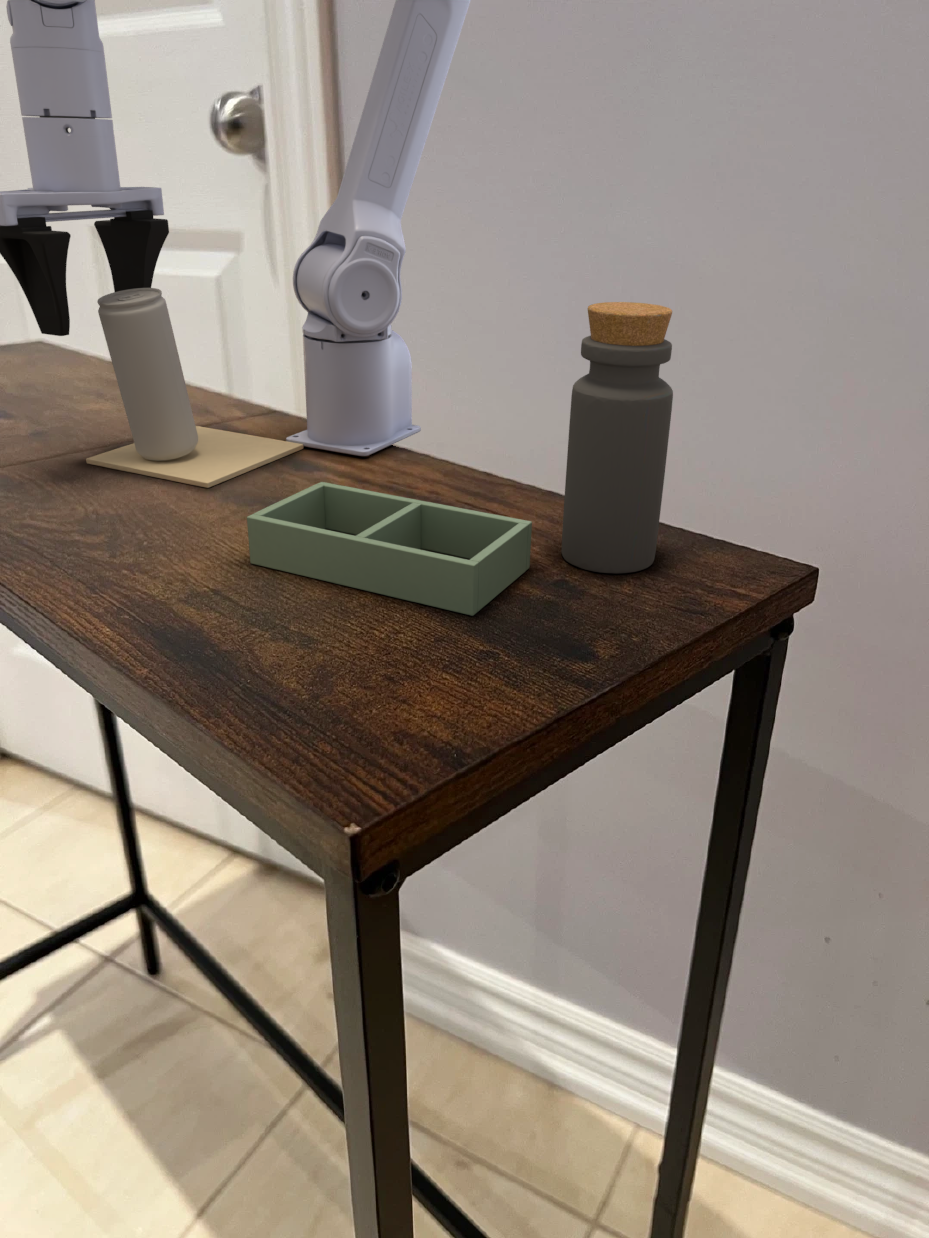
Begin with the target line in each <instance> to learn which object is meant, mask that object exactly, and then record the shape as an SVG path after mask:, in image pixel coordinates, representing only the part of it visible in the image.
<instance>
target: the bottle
mask: <svg viewBox="0 0 929 1238" xmlns="http://www.w3.org/2000/svg"><path fill="white" fill-rule="evenodd" d="M587 315H588V316H587V317H588V324H589V332H590V335H588V336H585V337H584V338H582V340H581V344H580V356H581V357H582V358H583V359H585V360H587V361H589V370H588V373H587V374H585V375H583V376H582V377H580V378H578V379H577V380H576V381H575V382H574V384H573V385H572V390H571V398H570V399H571V400H570V410H569V411H570V412H569V426H568V439H567V456H566V470H565V482H564V483H565V485H564V499H563V512H562V513H563V515H562V529H561V556H562V557H563V559H564V560H565V561H566V562H567V563H569V564H571V565H572V566H574V567H578V568H580V569H582V570H586V571H589V572H596V573H601V574H616V575H617V574H628V573H629V574H630V573H635V572H639V571H643V570H646V569H648V568H649V567H651V565H653V564H654V561H655V557H656V551H657V543H658V535H659V527H660V518H661V509H662V502H663V501H662V500H663V493H664V484H665V475H666V466H667V456H668V447H669V438H670V430H671V429H670V428H671V421H672V412H673V401H674V390H673V388H672V386H670V384H669V383H668V382H666V380H664V379H663V378H661V377H660V367H661V365H664V364H667V363H668V362H670V361H671V358H672V352H673V351H672V350H673V344H672V342H671V341H669V340H668V339H665V338H666V335H667V331H668V327H669V325H670V322H671V318H672V315H673V310H672V309H671V308H670V307H668V306H664V305H660V304H653V303H648V302H647V303H646V302H632V301H631V302H630V301H606V302H597V303H593V304H590V305H588V306H587Z"/></svg>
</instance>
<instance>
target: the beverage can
mask: <svg viewBox="0 0 929 1238" xmlns="http://www.w3.org/2000/svg"><path fill="white" fill-rule="evenodd" d="M162 294H163V292H162V290H161V289H159V288H155V287H151V288H136V289H128V290H123V291H118V292H110V293H108V294H105V295H103V296H100V297H99V298H98V299H97V305H98V306H99V307H98V309H97V313H98V317H99V320H100V324H101V327H102V331H103V334H104V338H105V342H106V345H107V349H108V354H109V356H110V360H111V364H112V367H113V371H114V374H115V378H116V381H117V386H118V389H119V393H120V397H121V400H122V405H123V407H124V411H125V415H126V418H127V421H128V426H129V428H130V432H131V436H132V439H133V443H134V444H135V447H136V451H137V452H138V453H139V454H140V455H141V456H142V457H144V458H146V459H148V460H152V461H166V460H172V459H176V458H179V457H182V456H185V455H187V454H189V453H190V452H192V451H193V450H194V449H195V447H196V445H197V443H198V434H197V430H196V426H197V425H196V422H195V418H194V414H193V409H192V405H191V400H190V396H189V393H188V388H187V385H186V380H185V376H184V371H183V367H182V363H181V358H180V354H179V350H178V347H177V342H176V338H175V334H174V330H173V326H172V322H171V317H170V312H169V309H168V304H167V301H166V298H164V297H163V295H162Z"/></svg>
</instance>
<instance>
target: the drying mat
mask: <svg viewBox="0 0 929 1238" xmlns="http://www.w3.org/2000/svg"><path fill="white" fill-rule="evenodd" d="M195 426H196V430H197V434H198V443H197V445H196V447H195V449H194V450H193V451H192V452H190V453H189V454H187V455H185V456H182V457H179V458H176V459H172V460H166V461H152V460H148V459H146V458H144V457H142V456H141V455H140V454H139V453H138V452H137V451H136V447H135V444H134V442H133V443H130V444H127V445H124V446H120V447H117V448H115V449H111V450H108V451H106V452H102V453H99V454H97V455H96V454H95V455H93V456H90V457H86V458H85V460H86V464H88V465H93V466H98V467H103V468H108V469H112V470H118V471H122V472H127V473H132V474H138V475H142V476H146V477H152V478H156V479H162V480H166V481H171V482H177V483H182V484H187V485H191V486H196V487H202V488H205V489H209V488H212V487H214V486H216V485H218V484H221V483H224V482H226V481H229V480H231V479H233V478H235V477H238V476H241V475H243V474H245V473H248V472H250V471H253V470H255V469H258V468H260V467H263V466H265V465H267V464H271V463H272V462H274V461H277V460H279V459H282V458H285V457H288V456H289V455H291V454H294V453H297V452H300V451H301V450H304V446H303V444H299V443H293V442H287V441H286V440H281V439H276V438H275V439H274V438H270V437H265V436H264V437H263V436H257V435H252V434H246V433H242V432H241V433H240V432H235V431H228V430H224V429H223V430H222V429H217V428H212V427H205V426H200V425H195Z"/></svg>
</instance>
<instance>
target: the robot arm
mask: <svg viewBox="0 0 929 1238" xmlns="http://www.w3.org/2000/svg"><path fill="white" fill-rule="evenodd" d="M471 1H472V0H395V1H394V5H393V8H392V11H391V14H390V17H389V21H388V25H387V29H386V32H385V34H384V39H383V41H382V45H381V49H380V51H379V55H378V58H377V61H376V65H375V69H374V71H373V75H372V78H371V82H370V85H369V89H368V92H367V95H366V99H365V102H364V106H363V109H362V112H361V115H360V119H359V122H358V125H357V129H356V132H355V134H354V135H355V136H354V138H353V143H352V145H351V150H350V151H349V156H348V159H347V162H346V166H345V169H344V172H343V176H342V180H341V183H340V186H339V188H338V189H339V190H338V193H337V196H336V198H335V199H334V201H333V202H332V204H331V206H330V207H329V208H328V210H327V211H326V212H325V214H324V215H323V216H322V218H321V220H320V222H319V224H318V227H317V231H316V234H315V237H314V238H313V240H312V242H311V243H310V244H309V245H308V246H307V248H306V249H304V251H303V252H302V253H301V254H300V255H299V257H298V259H297V261H296V262H295V264H294V268H293V271H292V272H293V273H292V288H293V292H294V294H295V297H296V299H297V302H298V303H299V305H300V306H301V307H302V308H303V310H304V311H306V312H307V316H306V319H305V321H304V324H303V325H302V327H301V332H302V348H303V349H302V352H303V372H304V389H305V391H304V392H305V411H306V429H304V430H301V431H299V432H297V433H294V434H292V435H288V436H287V437H286V438H285V441H287V442H293V443H299V444H303V447H306V448H311V449H317V450H323V451H328V452H335V453H341V454H346V455H352V456H358V457H369V456H370V455H372V454H375V453H377V452H379V451H381V450H383V449H385V448H388V447H390V446H392V445H395V444H396V443H399V442H400V441H402V440H405V439H407V438H409V437H411V436H413V435H415V434H418V433H420V432H421V431H422V427H421V426H420V425H418V424H413V372H412V371H413V362H412V356H411V351H410V350H409V347H408V345H407V343H406V341H405V340H404V338H403V337H402V336H401V335H400V334H399V333H398V332H396V331H394V330H393V329H392V323H393V322H394V320H395V319H396V318H397V316H398V314H399V312H400V309H401V305H402V300H403V288H402V287H403V286H402V279H401V274H402V273H401V271H402V266H403V262H404V258H405V256H406V252H407V249H406V247H407V246H406V243H405V242H406V241H405V237H404V232H403V228H402V219H403V215H404V212H405V209H406V205H407V202H408V200H409V196H410V193H411V190H412V186H413V184H414V181H415V177H416V174H417V171H418V169H419V164H420V162H421V159H422V155H423V153H424V149H425V146H426V143H427V140H428V137H429V133H430V131H431V127H432V125H433V120H434V117H435V114H436V111H437V109H438V105H439V102H440V98H441V95H442V93H443V89H444V86H445V82H446V80H447V76H448V74H449V70H450V67H451V64H452V61H453V58H454V54H455V51H456V48H457V45H458V43H459V39H460V36H461V34H462V33H461V32H462V30H463V26H464V23H465V20H466V17H467V14H468V10H469V7H470V4H471ZM6 15H7V21H8V22H9V25H10V26H11V28H12V34H11V35H10V38H9V43H10V44H9V45H10V51H11V56H12V57H11V58H12V63H13V69H14V75H15V83H16V88H17V94H18V101H19V108H20V113H21V115H20V116H22V117H21V119H22V126H23V133H24V138H25V146H26V152H27V158H28V159H27V160H28V165H29V173H30V177H31V184H32V187H27V189H15V190H14V189H13V190H1V191H0V256H1V257H2V258H3V260H4V261H5V262H6V264H7V266H8V267H9V269H10V270H11V271H12V273H13V275H14V277H15V278H16V280H17V282H18V284H19V285H20V287H21V289H22V291H23V294H24V296H25V298H26V300H27V303H28V305H29V306H30V309H31V311H32V314H33V316H34V318H35V321H36V323H37V325H38V329H39V331H40V334H42V335H50V336H57V337H65V336H69V335H70V328H71V324H70V323H71V319H70V307H69V300H68V299H69V298H68V291H67V265H68V264H67V262H68V254H69V247H70V241H71V234H70V232H69V231H65V230H52V226H51V225H47V223H50V222H51V223H53V222H66V221H82V220H83V221H84V220H95V219H97V220H95V221H94V223H93V226H94V228H95V230H96V232H97V234H98V236H99V239H100V241H101V245H102V247H103V250H104V252H105V256H106V258H107V261H108V265H109V269H110V273H111V274H110V275H111V280H112V285H113V291H114V292H118V291H123V290H128V289H136V288H152V285H153V280H154V275H155V270H156V266H157V262H158V259H159V258H160V253H161V251H162V248H163V246H164V244H165V242H166V240H167V238H168V235H169V234H170V227H169V220H168V219H166V218H154V217H157V216H165V211H164V209H165V208H164V200H163V189H162V187H155V186H121V180H120V172H119V165H118V163H119V162H118V155H117V146H116V138H115V132H114V131H115V130H114V122H113V114H112V106H111V105H112V104H111V97H110V90H109V89H110V88H109V82H108V73H107V65H106V56H105V48H104V43H103V40H102V39H101V37H100V33H99V31H100V30H99V25H98V24H99V23H98V16H97V8H96V0H7V1H6ZM69 129H70V131H69ZM69 206H90V207H92V208H103V209H95V210H79V211H69ZM104 208H105V209H104ZM98 219H103V220H98ZM114 292H113V293H114Z"/></svg>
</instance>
